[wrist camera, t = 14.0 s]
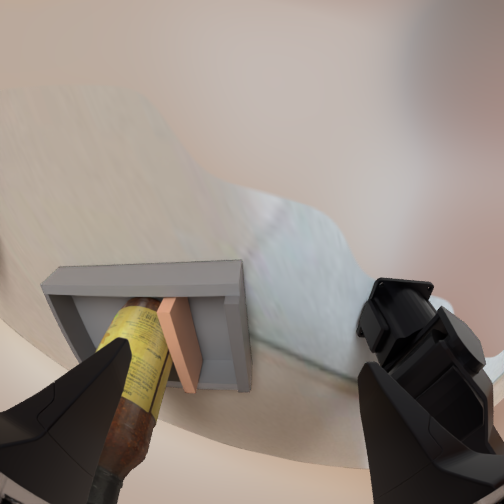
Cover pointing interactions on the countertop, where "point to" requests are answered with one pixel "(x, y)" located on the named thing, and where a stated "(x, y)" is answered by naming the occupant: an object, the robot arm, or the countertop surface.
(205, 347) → the tray
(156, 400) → the sauce bottle
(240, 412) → the countertop surface
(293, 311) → the countertop surface
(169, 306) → the plate
